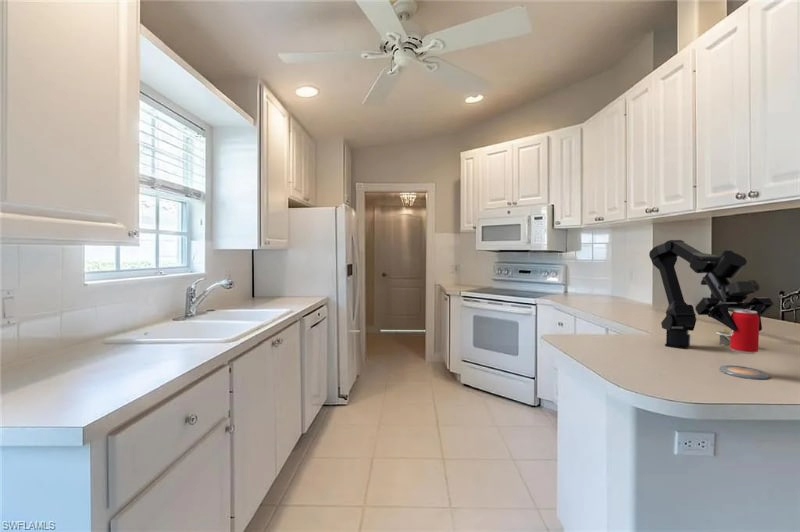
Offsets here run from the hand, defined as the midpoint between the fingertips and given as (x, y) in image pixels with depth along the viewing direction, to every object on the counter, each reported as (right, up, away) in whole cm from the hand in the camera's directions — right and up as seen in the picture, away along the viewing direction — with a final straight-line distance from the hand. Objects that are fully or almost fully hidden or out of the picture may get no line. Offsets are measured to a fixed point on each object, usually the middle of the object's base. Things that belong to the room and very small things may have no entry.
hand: (748, 330), depth 112 cm
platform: (+23, -12, +32) cm, 40 cm away
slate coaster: (0, -13, +2) cm, 13 cm away
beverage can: (0, -7, +2) cm, 7 cm away
